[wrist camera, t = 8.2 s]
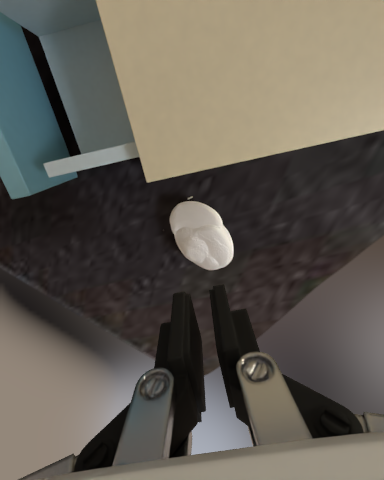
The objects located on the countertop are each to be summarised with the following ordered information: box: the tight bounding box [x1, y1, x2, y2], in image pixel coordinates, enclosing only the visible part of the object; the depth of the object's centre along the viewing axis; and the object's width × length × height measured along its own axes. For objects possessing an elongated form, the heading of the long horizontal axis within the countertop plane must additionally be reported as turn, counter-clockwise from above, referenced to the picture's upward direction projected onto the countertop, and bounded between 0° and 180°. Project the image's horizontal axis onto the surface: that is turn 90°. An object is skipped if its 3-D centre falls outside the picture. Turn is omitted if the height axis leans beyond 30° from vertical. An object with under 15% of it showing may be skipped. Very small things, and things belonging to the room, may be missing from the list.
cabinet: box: [96, 0, 384, 183], centre depth 15 cm, size 14×12×9 cm
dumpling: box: [163, 197, 234, 270], centre depth 22 cm, size 7×5×4 cm
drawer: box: [0, 0, 139, 199], centre depth 16 cm, size 18×10×7 cm, turn 102°
